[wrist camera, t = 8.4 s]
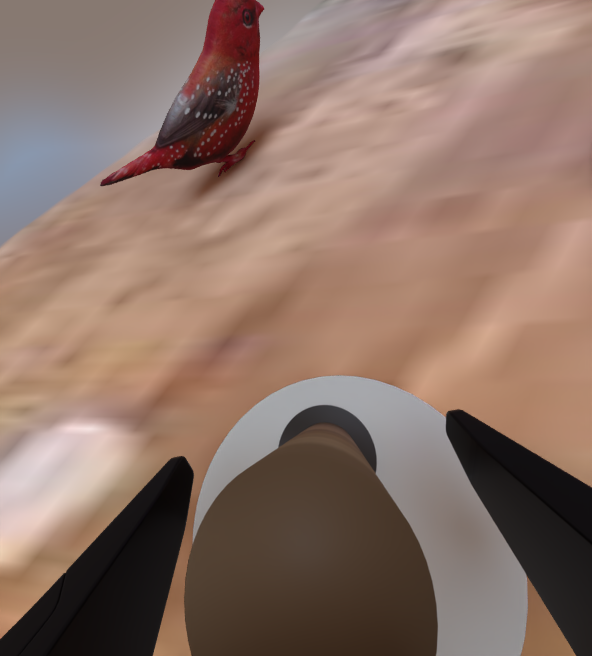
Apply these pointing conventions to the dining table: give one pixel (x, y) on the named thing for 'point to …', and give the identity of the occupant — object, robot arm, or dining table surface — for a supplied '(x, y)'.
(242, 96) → the decorative bird figurine
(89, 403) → the dining table surface
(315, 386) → the white smooth round part
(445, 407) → the dining table surface
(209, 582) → the brown tapered knob
